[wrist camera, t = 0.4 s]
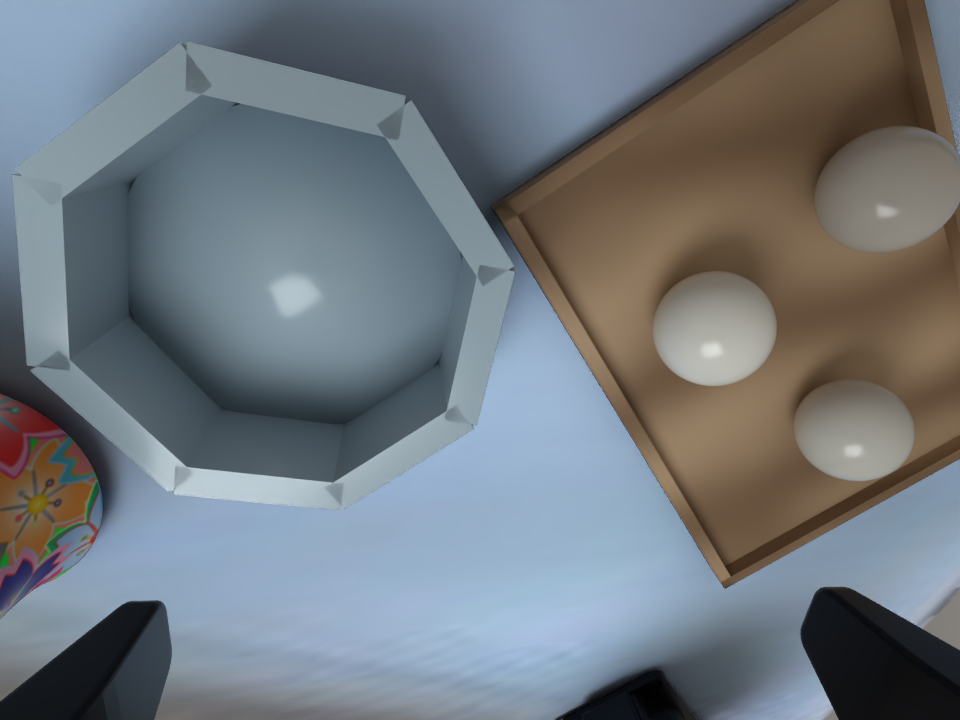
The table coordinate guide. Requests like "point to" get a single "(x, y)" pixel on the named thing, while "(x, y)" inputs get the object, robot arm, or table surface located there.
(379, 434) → the bowl
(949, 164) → the pebble
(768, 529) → the tray
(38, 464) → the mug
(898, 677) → the robot arm
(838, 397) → the pebble
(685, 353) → the white ball
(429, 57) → the table surface
